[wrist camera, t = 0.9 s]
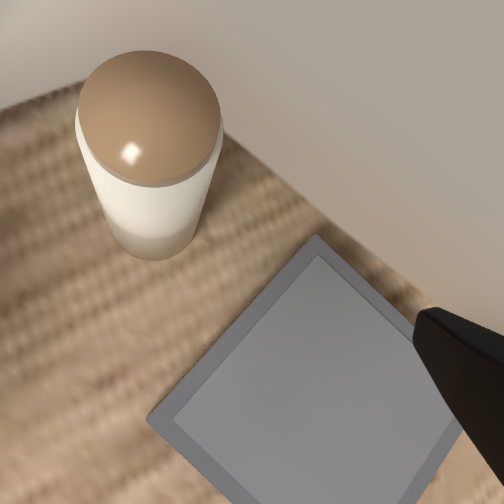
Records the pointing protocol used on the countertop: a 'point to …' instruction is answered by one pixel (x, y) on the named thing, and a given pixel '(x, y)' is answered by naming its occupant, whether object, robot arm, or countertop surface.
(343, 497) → the slate trivet
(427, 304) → the countertop surface
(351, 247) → the countertop surface
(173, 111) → the spice jar
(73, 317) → the countertop surface
